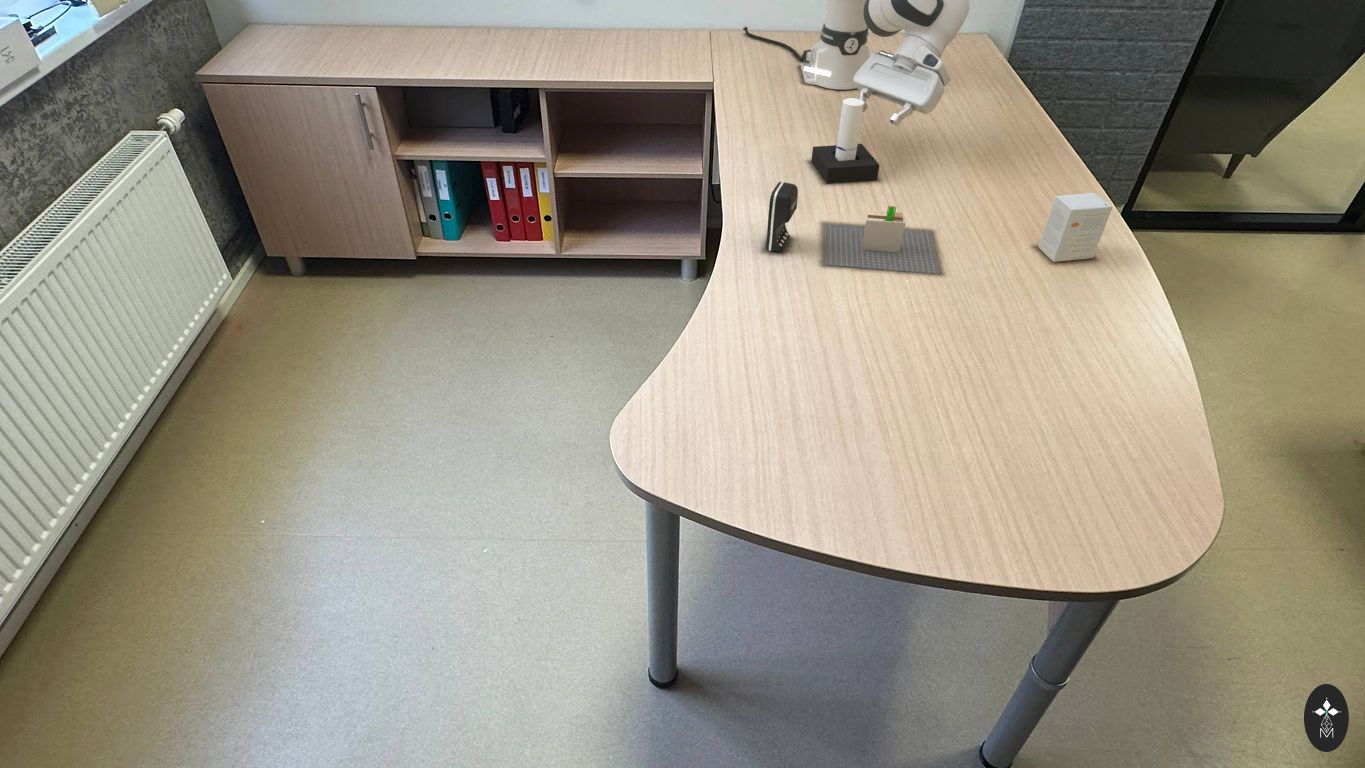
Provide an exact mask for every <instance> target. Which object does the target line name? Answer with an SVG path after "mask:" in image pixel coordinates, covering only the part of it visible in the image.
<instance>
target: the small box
mask: <svg viewBox="0 0 1365 768" xmlns="http://www.w3.org/2000/svg"><path fill="white" fill-rule="evenodd" d="M1112 210H1113V206H1112V205H1111V204H1110V203H1109V202H1108V201H1106V200H1105V199H1104V198H1102V197H1101V196H1100V195H1099V194H1098V193H1096V192H1085V193H1077V194H1074V193H1073V194H1064V195H1055V196H1054V198H1053V202H1052V204H1051V208H1050V210H1049V214H1048V215H1047V216H1048V217H1047V220H1046V222H1045V226H1044V229H1043V232H1042V235H1041V237H1040V240H1039V244H1038V249H1040V251H1041V252H1043V253H1044V254H1045V255H1046V257H1048V258H1049V259H1050V261H1052V262H1053V263H1056V262H1068V261H1076V260H1077V261H1079V260H1086V259H1087V260H1089V259H1093V258H1094V256H1095V254H1096V251H1097V249H1098V245H1099V243H1100V241H1101V238H1102V236H1103V233H1104V231H1105V228H1106V225H1107V223H1108V220H1109V218H1110V215H1111V213H1112Z"/></svg>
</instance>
